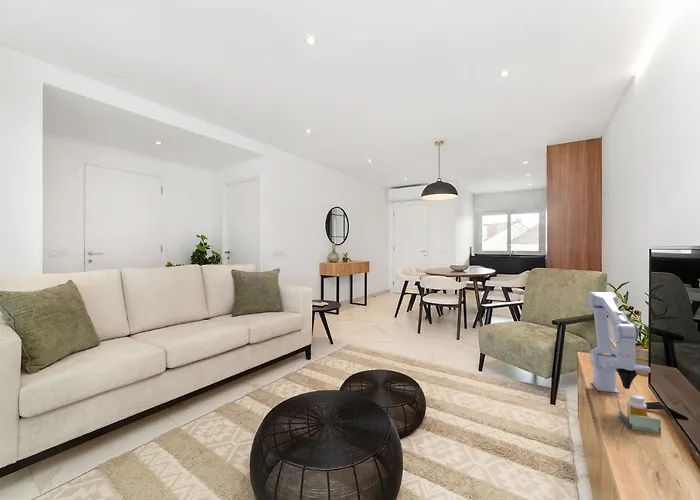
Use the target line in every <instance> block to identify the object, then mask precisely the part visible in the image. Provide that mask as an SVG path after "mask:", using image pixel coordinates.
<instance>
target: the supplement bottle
mask: <svg viewBox="0 0 700 500" xmlns="http://www.w3.org/2000/svg"><path fill="white" fill-rule="evenodd" d="M644 397H645V396H642V395H641V394H636V393H630V394H629V399H628V400H627V402H626V403H627V404H626V406H627V411H626V412H627V413H626V415H627V416H626V417H627V419H628V420H629V414H630V415H638V416H645V417H647V415H648V405H647V404H646V403H645V398H644Z"/></svg>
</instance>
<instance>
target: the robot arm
mask: <svg viewBox="0 0 700 500" xmlns="http://www.w3.org/2000/svg"><path fill="white" fill-rule="evenodd" d="M618 302H619V301H618V295H617V293H615V292H614V291H609V292H608V291H589V292H588V295H587V304H588V305H587V306H588V309H589V310H591V311H592V312H593V317H594V327H595V335H596V336H595V337H596V344H597V345H596V346H595V347H594V348H592V349H591V350H590V363H591V366H593V369H592V370H593V376H592V377H593V380H591V381H590V382H591V384H592V385H593V386H594V387H595V389H596V390H597V391H599V392H600V391H601V392H609V393H617V394H620V393H621V392H620V391H619V389H617V388H616V386H617V385H616V378H617V377H616V372H617V374H618V376H619V378H620V381H621V385H622V388H624V389H625V390H630V389H631V385H632V382H634V379H635V378H637V374H638V373H637V372H643V373H648V374H649V373H651V367H650V366H648V365H641V364H638V363H636V359H637V357H636V356H637V355H636V349H637V348H636V340H638V338H639V336H640V335H639V334H640V332H639V328H638V326H637V324H636V323H633V322H631V321H630V320H629V318H628V317H627V316H626V314H625V313H624V311H621V310H620V309H619V308H618V306H617V304H618ZM607 313H608V314H607ZM608 320H609V321H608ZM608 322H610V323H611V325H612V327H613V329H612V331H613V334H614V335H613V336H614V341H615V342H616V347H615V348H616V350H615V349H613V348H612V347H611V338H610V331H609V330H610V329H609V323H608Z"/></svg>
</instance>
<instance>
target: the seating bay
mask: <svg viewBox="0 0 700 500" xmlns="http://www.w3.org/2000/svg"><path fill="white" fill-rule="evenodd" d="M618 417H619V418H620V419H621V421H623V423H624V424H625V425H626V426H627V428H628V429H630V430H634V431H642V432H646V433H647V432H649V433H655V434H662V431H661V429H662V424H661V423H662V421H661V418H658V417H651V416H649V415H648V414H647V417H645V416H638V415H630V414H629V420H628V417H627V416H625V414H624V413H623V412H622V411H621V410H619V411H618Z"/></svg>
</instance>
